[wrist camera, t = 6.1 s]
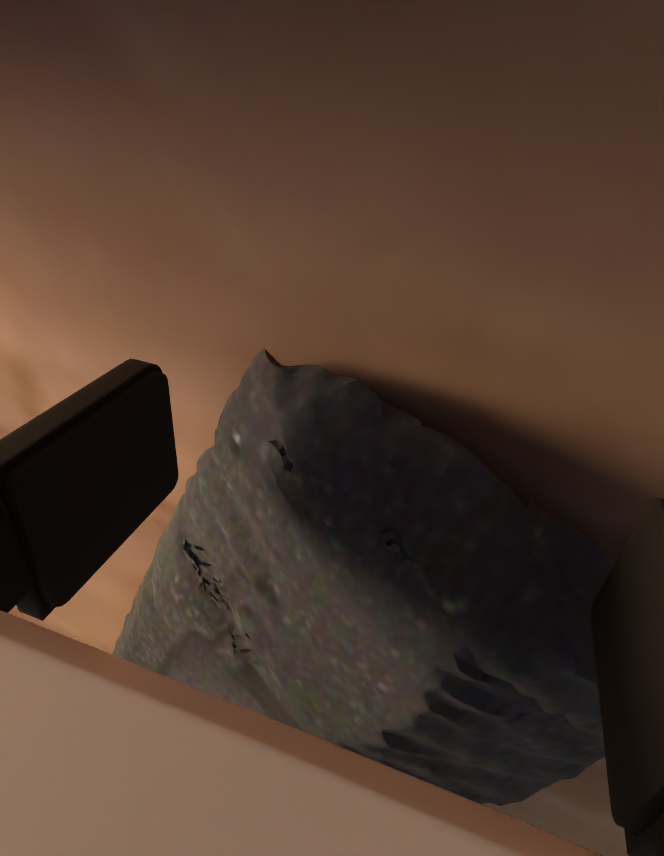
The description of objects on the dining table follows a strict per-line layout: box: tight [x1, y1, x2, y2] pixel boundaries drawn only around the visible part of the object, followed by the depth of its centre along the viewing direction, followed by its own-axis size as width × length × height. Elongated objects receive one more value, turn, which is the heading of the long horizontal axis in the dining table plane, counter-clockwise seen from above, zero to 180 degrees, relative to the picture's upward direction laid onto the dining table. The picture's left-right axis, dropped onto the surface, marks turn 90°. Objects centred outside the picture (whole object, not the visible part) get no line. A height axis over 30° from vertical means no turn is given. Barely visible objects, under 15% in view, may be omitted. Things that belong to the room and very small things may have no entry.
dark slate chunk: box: [112, 349, 615, 806], centre depth 16 cm, size 15×22×5 cm
